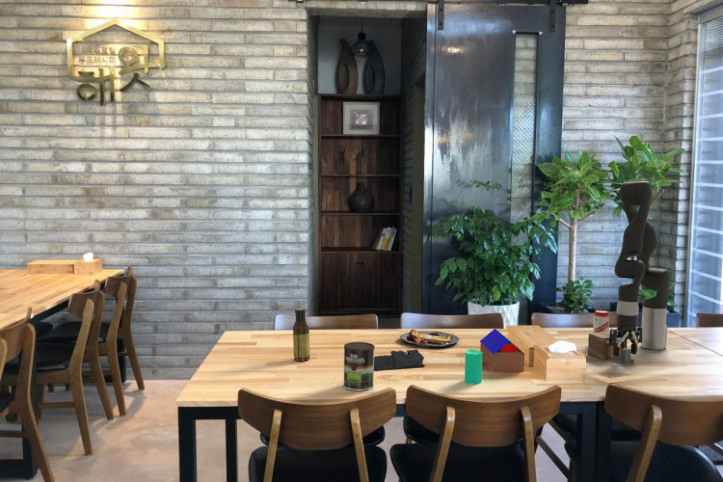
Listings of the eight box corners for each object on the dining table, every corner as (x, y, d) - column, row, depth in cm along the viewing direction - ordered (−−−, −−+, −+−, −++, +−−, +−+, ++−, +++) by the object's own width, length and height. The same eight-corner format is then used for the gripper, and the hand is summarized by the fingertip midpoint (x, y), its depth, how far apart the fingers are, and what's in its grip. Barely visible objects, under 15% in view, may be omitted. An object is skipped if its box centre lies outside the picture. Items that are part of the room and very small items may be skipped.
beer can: (609, 351, 277) (611, 313, 275) (593, 350, 278) (594, 312, 276) (606, 347, 283) (608, 310, 281) (591, 347, 284) (592, 309, 282)
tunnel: (610, 355, 271) (611, 330, 270) (626, 360, 264) (627, 335, 263) (587, 358, 266) (588, 333, 265) (602, 363, 259) (603, 338, 258)
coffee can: (367, 393, 222) (368, 350, 221) (338, 389, 226) (339, 347, 224) (378, 384, 232) (378, 343, 230) (350, 380, 235) (350, 340, 234)
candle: (462, 378, 238) (463, 345, 237) (479, 378, 239) (480, 345, 238) (466, 384, 232) (467, 349, 231) (483, 383, 233) (484, 349, 232)
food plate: (392, 344, 284) (393, 336, 284) (409, 333, 306) (410, 325, 305) (450, 352, 275) (451, 344, 275) (464, 340, 296) (464, 332, 296)
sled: (605, 354, 270) (606, 340, 269) (634, 364, 257) (635, 348, 256) (592, 356, 267) (593, 341, 266) (620, 366, 254) (621, 350, 253)
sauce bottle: (312, 358, 262) (312, 308, 260) (306, 362, 256) (306, 311, 254) (297, 357, 264) (297, 306, 262) (290, 361, 258) (290, 309, 256)
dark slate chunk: (360, 361, 260) (360, 349, 260) (414, 357, 267) (414, 345, 266) (373, 373, 246) (373, 360, 245) (429, 368, 252) (429, 355, 252)
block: (610, 354, 266) (611, 342, 266) (620, 358, 262) (621, 345, 261) (601, 356, 264) (601, 343, 264) (610, 359, 260) (611, 346, 259)
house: (492, 372, 247) (493, 341, 246) (479, 357, 267) (479, 328, 266) (525, 372, 248) (526, 340, 247) (509, 357, 268) (509, 328, 267)
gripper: (633, 309, 261) (631, 351, 262) (605, 311, 255) (603, 354, 256) (649, 313, 254) (646, 355, 255) (620, 315, 248) (618, 359, 249)
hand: (624, 355), depth 256 cm, fingers open, 8 cm apart
